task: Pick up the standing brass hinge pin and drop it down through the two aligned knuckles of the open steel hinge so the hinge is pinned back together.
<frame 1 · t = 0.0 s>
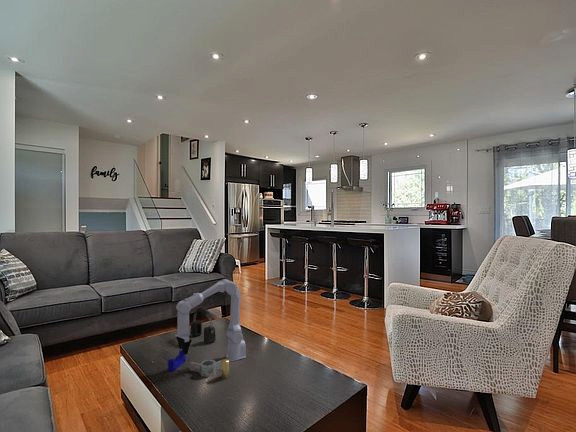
hand: (183, 351, 158), 10 cm above the table, tool pointing down, fingers open, 7 cm apart
steel hinge: (208, 373, 156), on the table
headphones: (202, 339, 200), on the table
cable clip: (175, 366, 164), on the table
brass pin: (225, 376, 152), on the table
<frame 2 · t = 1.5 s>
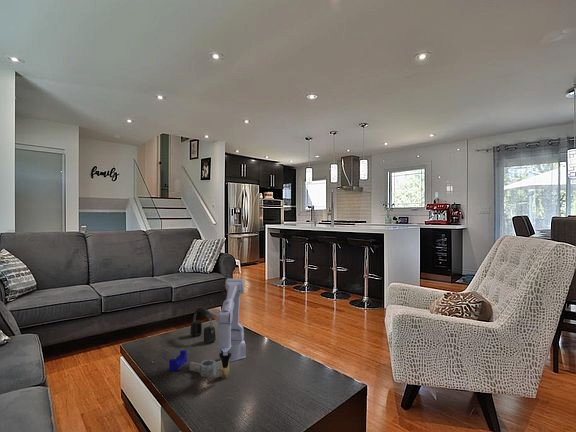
hand: (225, 363, 152), 6 cm above the table, tool pointing down, fingers open, 7 cm apart
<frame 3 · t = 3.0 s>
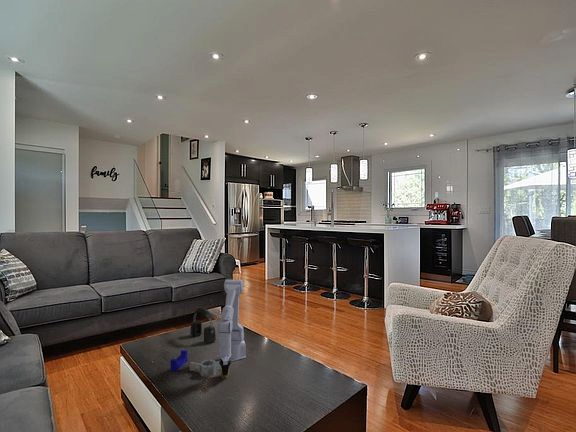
hand: (225, 372, 152), 2 cm above the table, tool pointing down, fingers closed on brass pin, 4 cm apart
brass pin: (225, 376, 152), on the table, touching gripper
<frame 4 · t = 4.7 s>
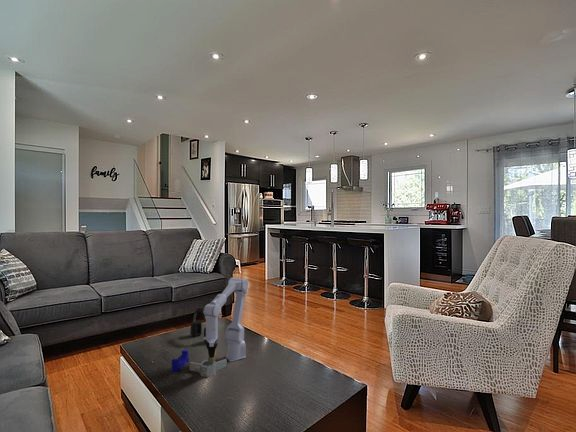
hand: (211, 355, 155), 9 cm above the table, tool pointing down, fingers closed on brass pin, 4 cm apart
brass pin: (212, 359, 155), point 7 cm above the table, touching gripper
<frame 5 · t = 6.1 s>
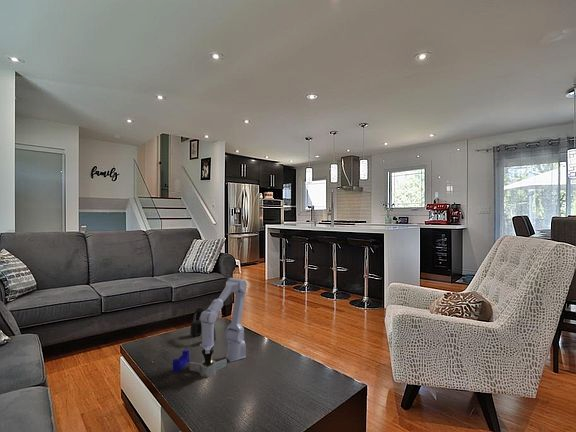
hand: (208, 361, 156), 6 cm above the table, tool pointing down, fingers closed on brass pin, 4 cm apart
brass pin: (208, 366, 156), point 4 cm above the table, touching gripper
when the fingers open (6 cm above the table, at t = 6.8 s): brass pin drops 4 cm, resting in steel hinge.
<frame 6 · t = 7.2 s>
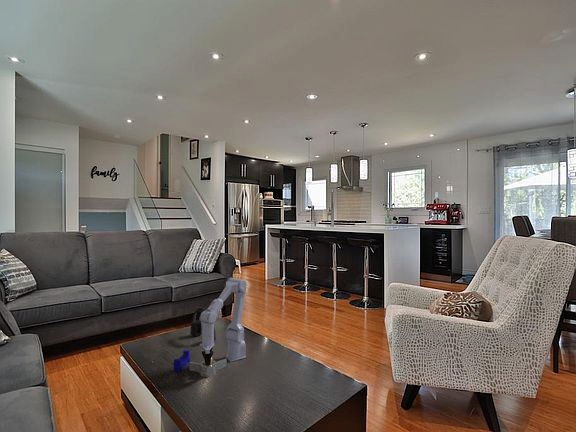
hand: (208, 361, 156), 6 cm above the table, tool pointing down, fingers open, 7 cm apart
brass pin: (208, 373, 156), resting in steel hinge
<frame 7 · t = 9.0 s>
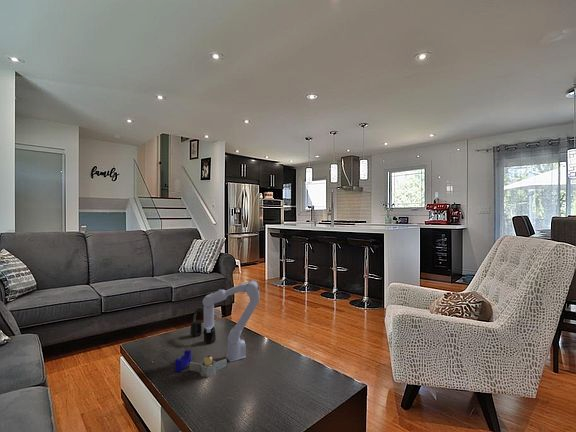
hand: (208, 340, 173), 9 cm above the table, tool pointing down, fingers open, 7 cm apart
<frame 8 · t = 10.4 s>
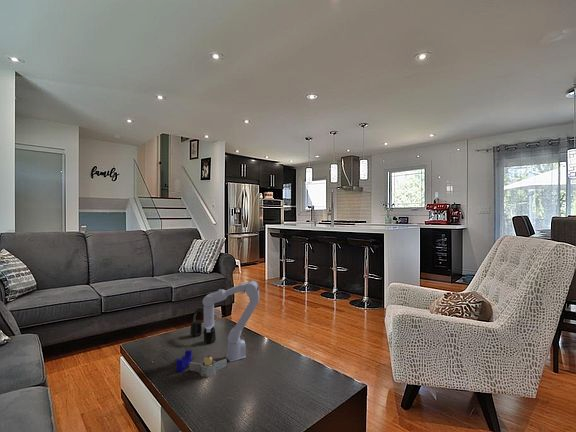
hand: (208, 340, 173), 9 cm above the table, tool pointing down, fingers open, 7 cm apart
at the end: brass pin 0.1 cm off-centre on the steel hinge, point 0.0 cm above the steel hinge's base; brass pin tilted 0°; the gripper is holding nothing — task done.
